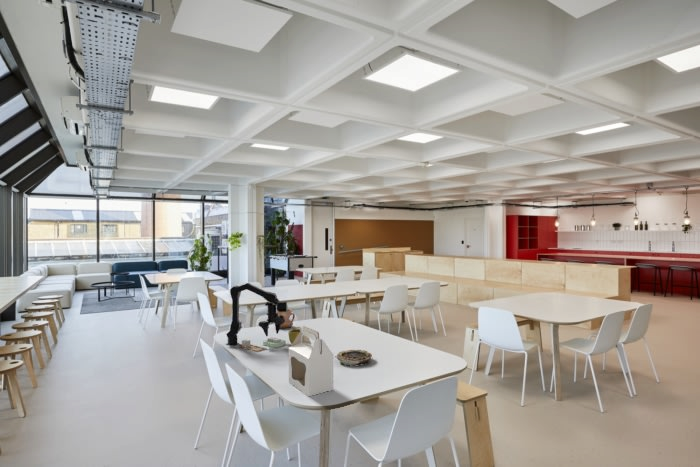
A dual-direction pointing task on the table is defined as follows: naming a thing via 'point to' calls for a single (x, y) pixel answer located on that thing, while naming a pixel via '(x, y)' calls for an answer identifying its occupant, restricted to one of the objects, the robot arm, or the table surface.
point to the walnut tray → (254, 348)
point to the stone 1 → (245, 343)
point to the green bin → (274, 343)
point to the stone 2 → (276, 340)
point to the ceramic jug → (286, 318)
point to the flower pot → (293, 334)
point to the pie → (354, 357)
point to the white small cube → (271, 339)
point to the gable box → (310, 363)
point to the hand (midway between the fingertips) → (272, 334)
